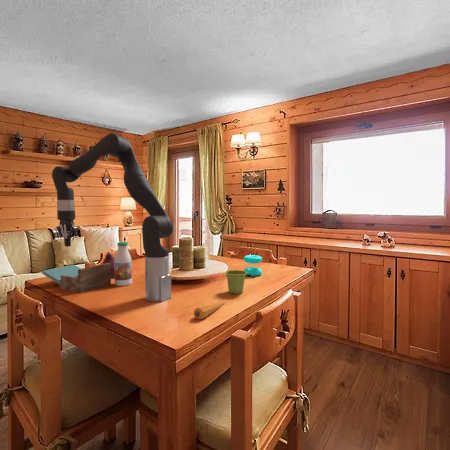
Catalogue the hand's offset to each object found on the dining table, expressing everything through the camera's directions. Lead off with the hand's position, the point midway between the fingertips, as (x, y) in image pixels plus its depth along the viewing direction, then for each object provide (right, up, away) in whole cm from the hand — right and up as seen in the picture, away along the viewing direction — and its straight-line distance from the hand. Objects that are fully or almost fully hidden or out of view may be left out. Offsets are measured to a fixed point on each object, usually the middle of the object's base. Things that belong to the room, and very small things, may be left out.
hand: (67, 246), depth 144 cm
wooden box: (+10, -18, -5) cm, 21 cm away
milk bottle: (+27, -18, -1) cm, 32 cm away
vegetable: (+15, -17, +14) cm, 27 cm away
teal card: (+4, -16, -1) cm, 16 cm away
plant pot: (+79, -19, -12) cm, 82 cm away
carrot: (+70, -21, -35) cm, 81 cm away
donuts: (+90, -17, +21) cm, 93 cm away
